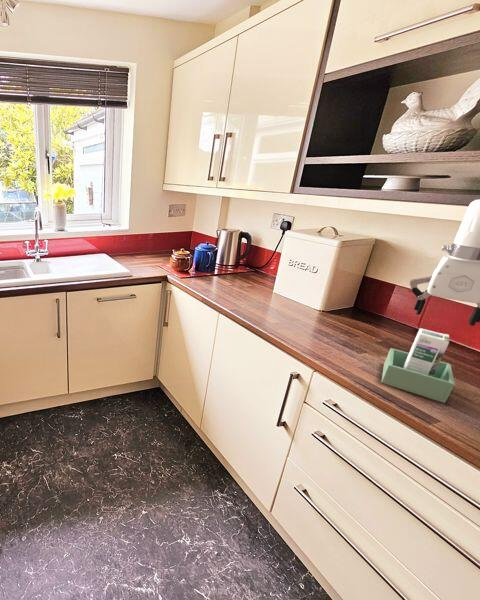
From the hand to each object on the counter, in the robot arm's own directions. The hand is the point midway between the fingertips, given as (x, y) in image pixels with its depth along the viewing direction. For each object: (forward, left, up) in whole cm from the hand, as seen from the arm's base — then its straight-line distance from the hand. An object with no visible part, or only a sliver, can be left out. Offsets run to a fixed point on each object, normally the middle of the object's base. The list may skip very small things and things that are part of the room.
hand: (443, 318), depth 86 cm
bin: (0, 0, -20) cm, 20 cm away
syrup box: (0, 0, -19) cm, 19 cm away
